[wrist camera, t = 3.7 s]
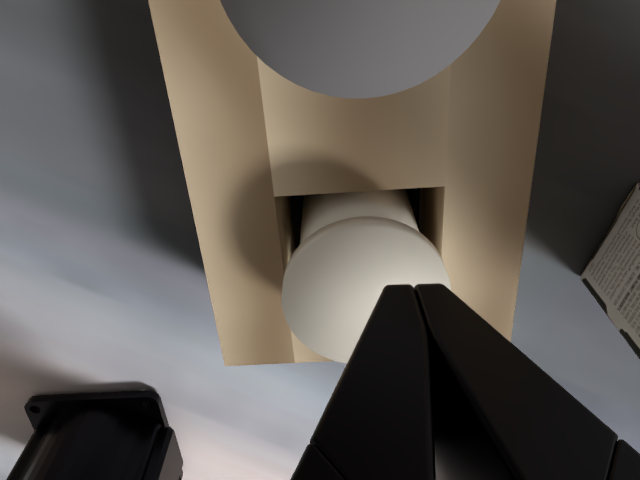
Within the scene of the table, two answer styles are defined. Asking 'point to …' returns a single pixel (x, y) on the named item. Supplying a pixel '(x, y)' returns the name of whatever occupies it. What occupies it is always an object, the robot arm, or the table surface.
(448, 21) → the grey rounded piece
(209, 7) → the socket block
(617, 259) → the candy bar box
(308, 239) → the white plug
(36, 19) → the table surface
